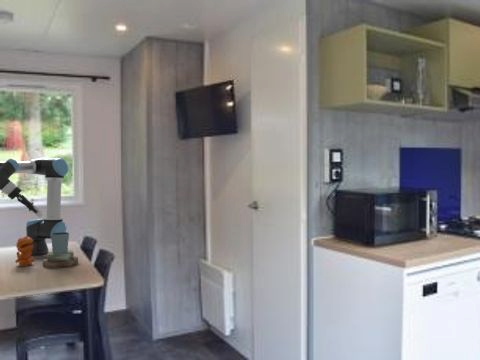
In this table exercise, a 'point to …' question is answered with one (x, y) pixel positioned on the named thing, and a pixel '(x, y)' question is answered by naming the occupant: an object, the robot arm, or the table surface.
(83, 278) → the table surface
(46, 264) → the plinth
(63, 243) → the teal tapered container
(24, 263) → the toy dinosaur
